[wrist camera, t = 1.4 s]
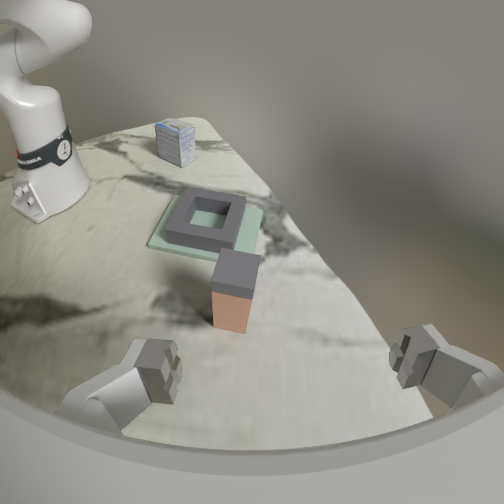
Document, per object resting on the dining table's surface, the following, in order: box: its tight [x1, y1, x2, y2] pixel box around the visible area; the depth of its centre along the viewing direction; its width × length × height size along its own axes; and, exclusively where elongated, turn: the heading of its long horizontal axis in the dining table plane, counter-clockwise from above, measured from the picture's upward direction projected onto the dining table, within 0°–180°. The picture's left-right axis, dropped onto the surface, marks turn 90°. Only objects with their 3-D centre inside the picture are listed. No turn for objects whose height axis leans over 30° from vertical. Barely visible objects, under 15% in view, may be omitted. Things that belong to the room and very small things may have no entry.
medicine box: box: [155, 118, 196, 167], centre depth 52 cm, size 8×4×9 cm, turn 56°
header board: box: [148, 187, 263, 262], centre depth 42 cm, size 16×12×4 cm
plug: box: [211, 248, 261, 334], centre depth 30 cm, size 4×4×11 cm
